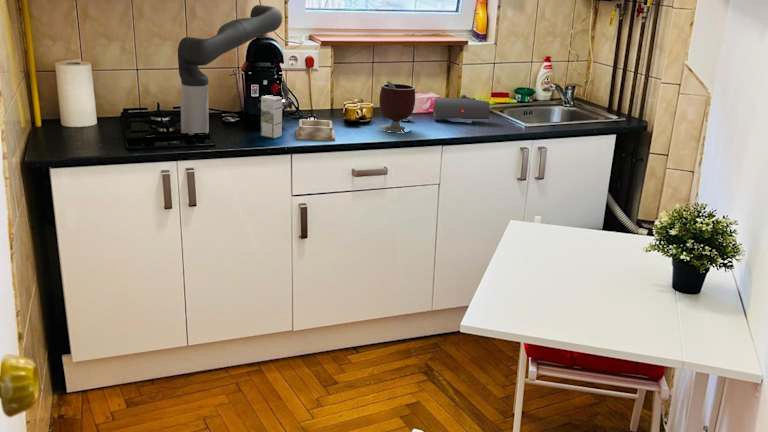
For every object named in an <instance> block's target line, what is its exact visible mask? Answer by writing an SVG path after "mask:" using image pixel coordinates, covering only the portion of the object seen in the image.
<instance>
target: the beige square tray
mask: <svg viewBox="0 0 768 432" xmlns="http://www.w3.org/2000/svg"><path fill="white" fill-rule="evenodd" d="M298 125H299V127H296V129H295V130H296V131H295V132H296V135H295V139H296V140H311V141H312V140H313V141H331V140H335V141H336V136H335V129H334V128H333V121H332V120H325V119H324V120H323V119H305V118H303V119H300V118H299V123H298Z"/></svg>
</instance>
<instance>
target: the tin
mask: <svg viewBox="0 0 768 432" xmlns="http://www.w3.org/2000/svg"><path fill="white" fill-rule="evenodd" d="M351 103H364V99H363V98H355V99H354V100H352V101H351V102H350V104H351Z"/></svg>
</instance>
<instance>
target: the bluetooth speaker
mask: <svg viewBox="0 0 768 432" xmlns="http://www.w3.org/2000/svg"><path fill="white" fill-rule="evenodd" d="M490 104H491V103H490V101H488V100H481V99H471V98H458V97H457V98H456V97H435V98H434V104H433V118H434V119H439V118H461V119H462V118H463V119H488V120H489V119H490Z"/></svg>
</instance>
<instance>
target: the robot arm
mask: <svg viewBox="0 0 768 432" xmlns="http://www.w3.org/2000/svg"><path fill="white" fill-rule="evenodd" d="M282 23H283V14H282V11H281V10H280V9H279V8H277V7H275V6H270V5H264V4H262V5H261V4H256V5H254V6H253V8H251V11H250V14H249V17H244V18H243V17H242V18H236V19H233V20H230V21H229V22H226V23H224V24H222V25H221V26H220V27H219V29H218V30H217V32H216V35H214V36H211V37H208V38H207V37H206V38H200V37H191V36H185V37H183V38H181V40H180V41H179V43H178V47H177V61H178V62H177V63H178V64H177V65H178V73H179V78H180V83H181V106H180V134H186V133H188V134H187V135H194V133H206V134H208V133H209V130H210V129H209V128H210V127H209V126H210V124H209V123H210V122H209V121H210V120H209V77H208V75H206V74H205V73H203V72H202V71H201V70H200V68H199V66H202V67H203V66H204V67H205V66H207V65H209V64H211V62H213V61H215V60H216V59H218V58H219V57H220V56H222V55H223V54H226V53H228V52H229V51H232V50H234V49H236V48H239V47H241V46H242V45H244V44H246V43H248V42H250V41H252V40H254V39H256V38H259V37H268V38H269V35H268V34H269V33H272V32H275V31H277V30H278V29H279V27H280V26H282ZM287 86H288V84H287V82H286V81H285V78H284V77H283V82H282V95H283V99H282V111H286V110H287V109H290V110H291V109H293V100H292V99H291V98H290V99H288V97H289V95H290V89H289V86H288V87H287ZM284 97H285V99H284ZM286 99H287V101H286ZM257 108H258V109H260V110H261V103H259V104H258V107H257Z"/></svg>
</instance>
